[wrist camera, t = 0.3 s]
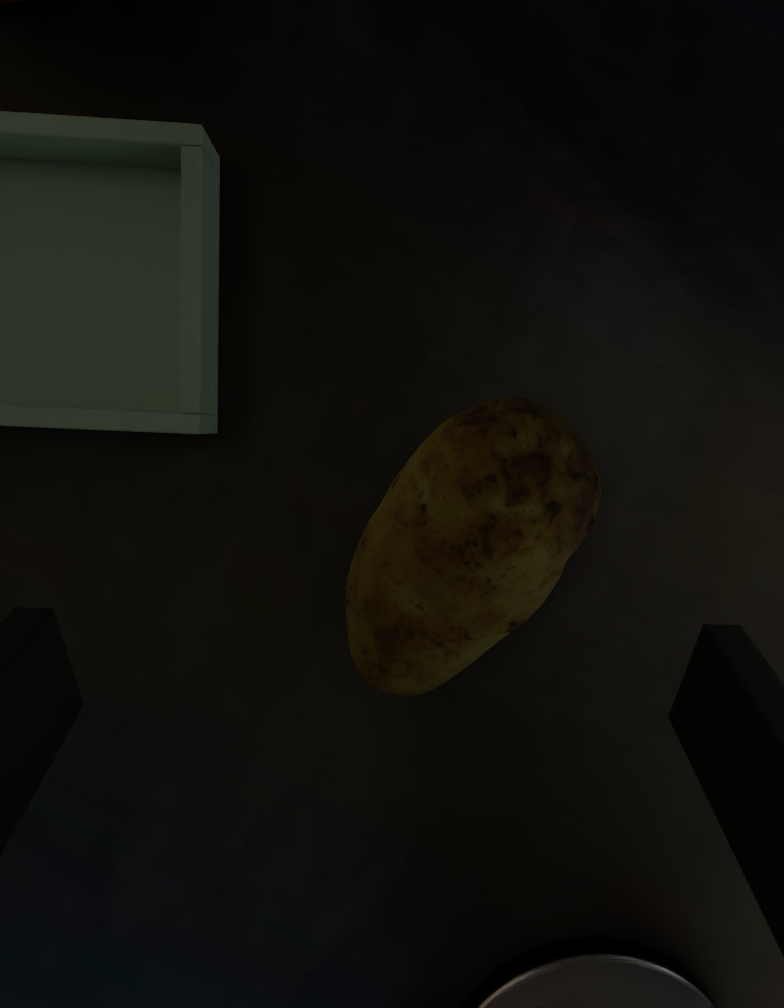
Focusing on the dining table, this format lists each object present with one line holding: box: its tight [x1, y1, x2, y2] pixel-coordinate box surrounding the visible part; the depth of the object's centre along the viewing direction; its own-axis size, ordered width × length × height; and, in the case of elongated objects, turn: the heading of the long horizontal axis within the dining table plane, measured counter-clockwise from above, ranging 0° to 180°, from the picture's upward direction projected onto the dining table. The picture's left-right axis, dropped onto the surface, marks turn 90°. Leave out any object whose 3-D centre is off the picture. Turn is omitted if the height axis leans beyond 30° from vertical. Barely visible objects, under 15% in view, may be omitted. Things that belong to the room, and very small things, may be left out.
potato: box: [345, 398, 602, 696], centre depth 24 cm, size 8×13×8 cm, turn 131°
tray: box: [0, 111, 220, 434], centre depth 25 cm, size 12×17×3 cm
